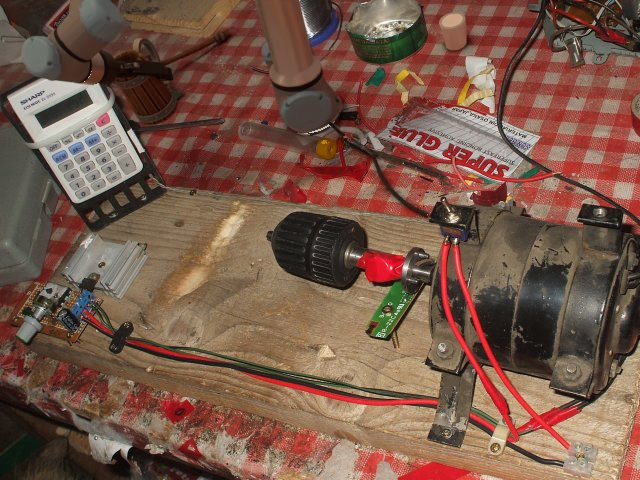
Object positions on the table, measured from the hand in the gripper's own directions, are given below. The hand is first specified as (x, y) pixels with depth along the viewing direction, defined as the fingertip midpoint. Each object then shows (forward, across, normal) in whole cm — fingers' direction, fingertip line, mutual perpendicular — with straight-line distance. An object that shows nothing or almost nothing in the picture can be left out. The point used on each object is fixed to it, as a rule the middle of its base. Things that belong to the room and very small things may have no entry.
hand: (153, 77), depth 152 cm
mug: (+2, 0, +6) cm, 7 cm away
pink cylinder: (+32, -70, -2) cm, 78 cm away
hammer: (+39, +12, -9) cm, 42 cm away
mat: (+29, +17, +1) cm, 34 cm away
